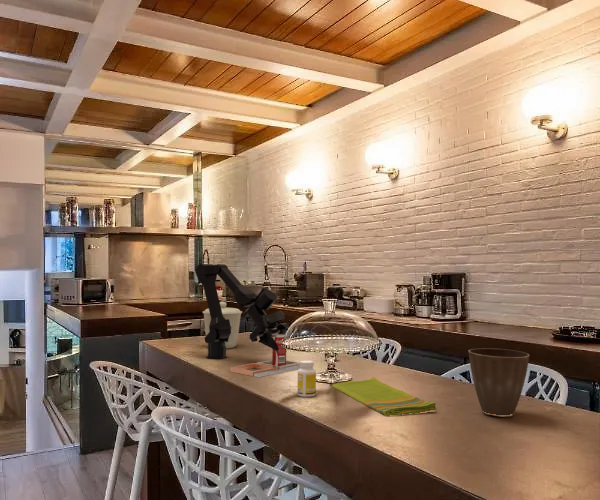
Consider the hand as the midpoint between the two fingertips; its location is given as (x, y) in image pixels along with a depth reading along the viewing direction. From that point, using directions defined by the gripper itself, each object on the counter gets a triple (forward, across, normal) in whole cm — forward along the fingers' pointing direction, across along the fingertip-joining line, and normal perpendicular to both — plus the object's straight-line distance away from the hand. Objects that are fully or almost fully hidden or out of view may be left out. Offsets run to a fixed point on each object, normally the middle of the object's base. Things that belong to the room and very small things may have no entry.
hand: (282, 349), depth 206 cm
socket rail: (+4, -7, +5) cm, 9 cm away
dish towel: (+42, -22, -31) cm, 56 cm away
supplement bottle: (+28, -31, -18) cm, 45 cm away
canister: (-32, +22, +41) cm, 56 cm away
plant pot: (+64, -18, -54) cm, 86 cm away
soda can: (+4, 0, +6) cm, 7 cm away
